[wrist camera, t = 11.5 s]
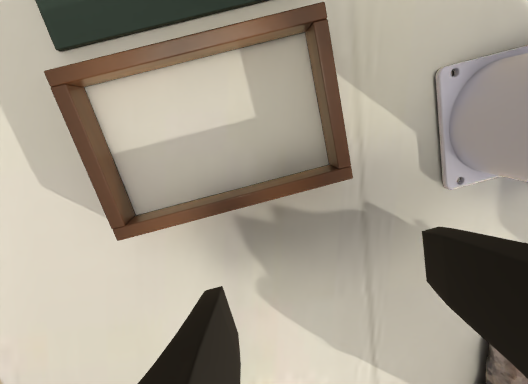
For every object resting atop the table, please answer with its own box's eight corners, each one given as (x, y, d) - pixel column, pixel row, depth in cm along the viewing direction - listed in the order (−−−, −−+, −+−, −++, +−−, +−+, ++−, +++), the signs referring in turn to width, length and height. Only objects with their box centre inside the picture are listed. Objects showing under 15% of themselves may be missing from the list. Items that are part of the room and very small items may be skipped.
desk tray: (315, 13, 16) (325, 0, 14) (342, 172, 19) (353, 178, 17) (64, 76, 16) (42, 70, 14) (128, 229, 18) (116, 241, 16)
